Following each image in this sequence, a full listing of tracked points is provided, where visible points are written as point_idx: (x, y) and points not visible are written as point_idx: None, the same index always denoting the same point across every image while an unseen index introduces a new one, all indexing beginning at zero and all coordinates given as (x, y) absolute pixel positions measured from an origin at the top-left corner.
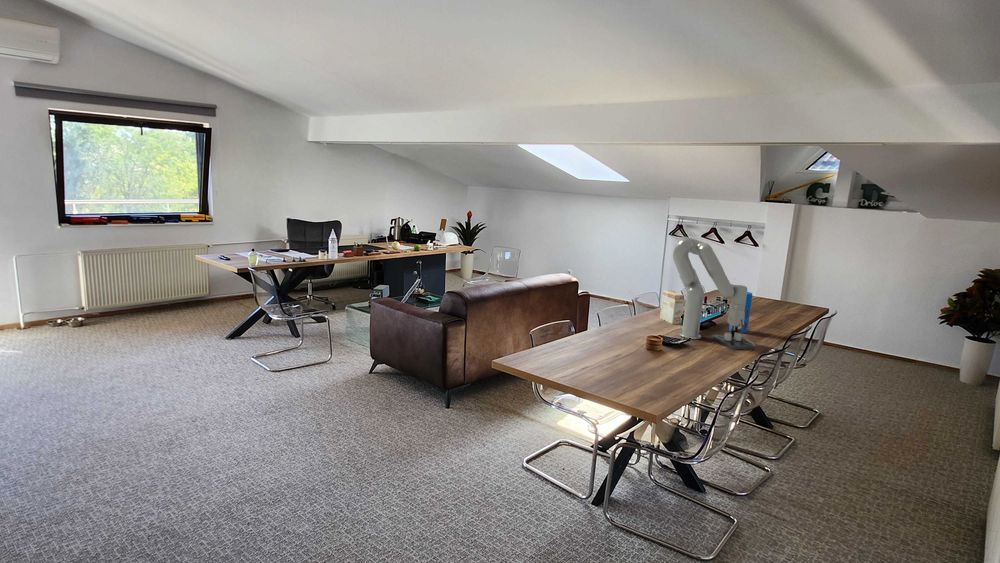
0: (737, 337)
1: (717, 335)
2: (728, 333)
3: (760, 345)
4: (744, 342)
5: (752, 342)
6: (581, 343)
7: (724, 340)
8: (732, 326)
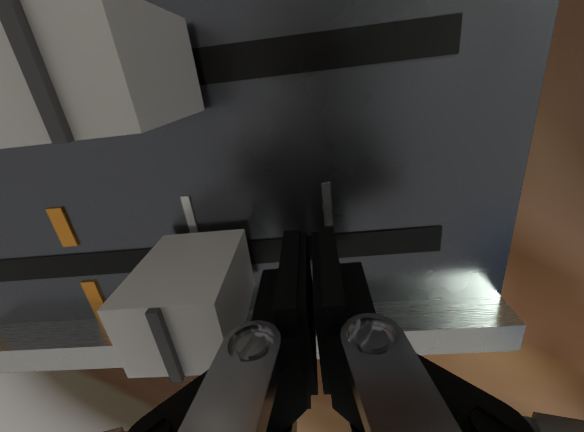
0: (140, 268)
1: (513, 19)
2: (15, 68)
3: None
4: None
5: (13, 368)
6: None
7: None
8: (362, 412)
